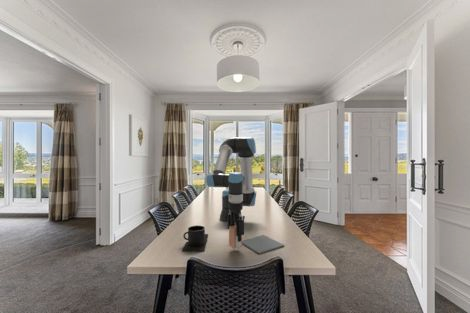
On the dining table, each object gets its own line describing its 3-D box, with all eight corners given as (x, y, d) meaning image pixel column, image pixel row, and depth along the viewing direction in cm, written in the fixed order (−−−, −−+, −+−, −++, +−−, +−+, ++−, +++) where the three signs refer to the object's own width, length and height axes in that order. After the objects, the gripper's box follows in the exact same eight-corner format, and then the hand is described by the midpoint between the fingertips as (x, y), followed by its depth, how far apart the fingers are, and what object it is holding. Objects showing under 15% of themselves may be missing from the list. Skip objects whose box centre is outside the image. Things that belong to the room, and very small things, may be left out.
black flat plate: (175, 253, 118) (204, 252, 119) (175, 252, 118) (204, 250, 119) (184, 235, 143) (208, 234, 144) (184, 234, 143) (208, 233, 144)
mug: (184, 240, 133) (184, 225, 133) (205, 240, 134) (205, 225, 134) (182, 247, 124) (182, 231, 123) (204, 247, 124) (204, 230, 124)
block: (229, 245, 121) (229, 226, 121) (236, 242, 124) (236, 224, 123) (234, 248, 117) (234, 229, 117) (242, 246, 120) (242, 227, 119)
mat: (239, 242, 131) (239, 240, 131) (263, 236, 141) (263, 234, 141) (259, 254, 116) (259, 252, 116) (284, 246, 126) (284, 244, 126)
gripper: (221, 199, 125) (221, 240, 126) (239, 206, 110) (239, 253, 111) (232, 197, 129) (232, 237, 130) (251, 204, 114) (251, 249, 115)
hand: (235, 244), depth 120 cm, fingers closed on block, 5 cm apart
